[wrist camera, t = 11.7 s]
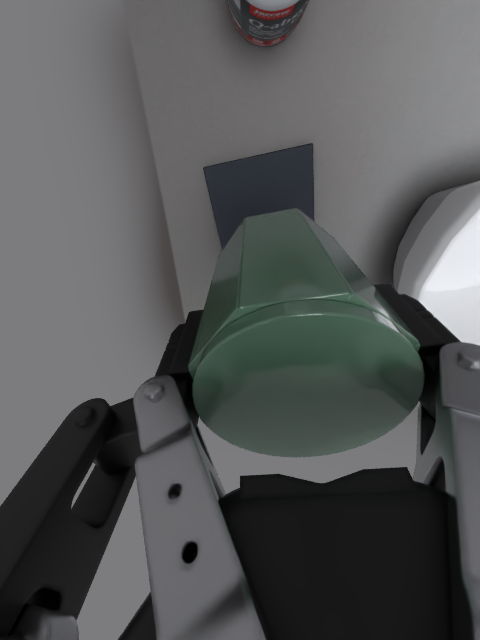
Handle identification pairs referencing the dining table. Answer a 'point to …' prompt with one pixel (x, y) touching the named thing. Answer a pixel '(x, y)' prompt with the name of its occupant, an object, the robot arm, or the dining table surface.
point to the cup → (299, 345)
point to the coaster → (260, 187)
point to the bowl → (445, 260)
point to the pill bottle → (266, 19)
